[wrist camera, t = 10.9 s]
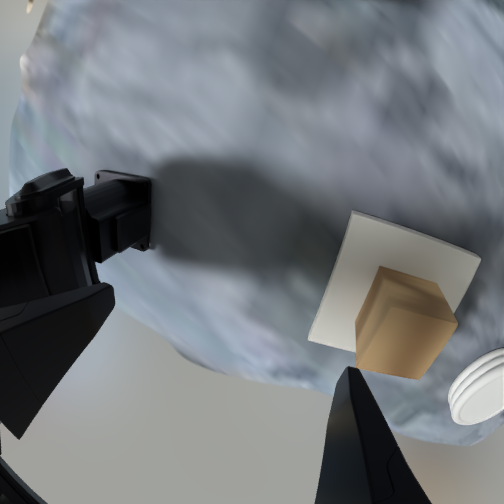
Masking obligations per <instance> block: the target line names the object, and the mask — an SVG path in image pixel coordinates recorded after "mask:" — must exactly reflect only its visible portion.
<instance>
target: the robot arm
mask: <svg viewBox="0 0 504 504" xmlns="http://www.w3.org/2000/svg"><path fill="white" fill-rule="evenodd" d="M99 175H100V176H99ZM144 183H146V187H145V185H144ZM83 185H84V178H83V177H75V176H73V175H71V173H70V172H69V170H68V169H67V168H63V169H59V170H56V171H52V172H49V173H46V174H43V175H41V176H39V177H36V178H34V179H32V180H30V181H29V182H27V183H25V184H24V186H23V187H22V189H21V190H20V191H19V192H17V193H16V194H14V195H13V196H12V197H11V198H9V199H8V200H7V201H6V202H5V205H6V208H5V209H2V210H0V424H1V422H2V423H3V424H4V425H5V427H6V428H7V429H8V430H9V431H10V432H11V433H12V434H13V435H14V436H15V437H17V439H19V440H20V438H21V437H22V436H23V434H24V433H25V431H26V429H27V428H28V426H29V425H30V423H31V422H32V420H33V419H34V417H35V416H36V414H37V413H38V411H39V410H40V409H41V407H42V405H43V404H44V403H45V401H46V400H47V398H48V397H49V396H50V394H51V393H52V391H53V390H54V389H55V387H56V386H57V385H58V383H59V382H60V380H61V379H62V378H63V377H64V375H65V374H66V372H67V371H68V370H69V368H70V367H71V366H72V365H73V363H74V362H75V361H76V359H77V358H78V357H79V356H80V354H81V353H82V352H83V350H84V349H85V348H86V347H87V345H88V344H89V343H90V342H91V340H92V339H93V338H94V337H95V335H96V334H97V332H98V331H99V329H100V328H101V326H102V325H103V323H104V322H105V320H106V319H107V317H108V316H109V314H110V313H111V311H112V310H113V308H114V306H115V296H114V288H113V286H112V285H110V284H108V283H105V282H103V283H101V282H100V281H99V278H98V274H97V269H96V265H95V262H98V263H102V262H104V261H105V260H107V259H108V258H110V257H112V256H113V255H115V254H116V253H121V252H123V251H124V250H126V249H127V248H129V247H131V248H134V249H137V250H140V251H146V250H148V249H149V236H150V218H151V206H150V204H151V186H152V185H151V181H150V180H149V179H147V178H142V177H137V176H131V175H126V174H120V173H114V172H109V171H103V170H100V171H97V172H96V173H95V185H93V186H90V187H87V188H84V189H83ZM143 244H144V246H145V247H144V246H143ZM0 455H1V440H0ZM0 504H47V503H46V502H45V501H44V500H43V499H42V498H41V497H39V496H38V495H37V494H36V493H35V492H34V491H33V490H32V489H31V488H30V487H29V486H28V485H27V484H26V483H25V482H24V481H23V480H22V479H21V478H20V477H19V476H18V475H17V474H16V473H15V472H14V471H13V470H12V469H11V468H10V467H9V466H8V464H7V463H6V462H5V461H4V460H3V459H2V458H1V456H0ZM315 504H432V503H431V502H430V500H429V499H428V497H427V495H426V494H425V492H424V490H423V489H422V487H421V486H420V484H419V482H418V481H417V479H416V478H415V476H414V474H413V473H412V471H411V469H410V467H409V466H408V464H407V462H406V460H405V458H404V456H403V454H402V452H401V450H400V448H399V446H398V444H397V442H396V440H395V438H394V436H393V434H392V432H391V430H390V428H389V426H388V424H387V422H386V420H385V418H384V416H383V414H382V412H381V410H380V408H379V406H378V404H377V402H376V400H375V398H374V396H373V395H372V393H371V391H370V389H369V387H368V385H367V383H366V381H365V379H364V377H363V376H362V374H361V372H360V370H359V369H358V368H354V367H350V366H348V367H346V368H345V370H344V372H343V373H342V375H341V377H340V378H339V380H338V382H337V384H336V388H335V393H334V397H333V402H332V406H331V411H330V415H329V419H328V424H327V431H326V439H325V446H324V453H323V460H322V466H321V472H320V478H319V483H318V489H317V494H316V499H315Z"/></svg>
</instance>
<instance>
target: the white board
mask: <svg viewBox="0 0 504 504" xmlns="http://www.w3.org/2000/svg"><path fill="white" fill-rule="evenodd" d="M480 262H481V258H480V257H479V256H478V255H477V254H475V253H473V252H470V251H468V250H465V249H463V248H461V247H458V246H455V245H453V244H450V243H448V242H445V241H443V240H440V239H437V238H435V237H432V236H429V235H426V234H424V233H421V232H418V231H415V230H412V229H410V228H407V227H404V226H401V225H398V224H395V223H392V222H389V221H386V220H383V219H380V218H377V217H374V216H371V215H367V214H364V213H361V212H358V211H354V210H352V212H351V215H350V219H349V222H348V225H347V229H346V232H345V235H344V238H343V241H342V244H341V247H340V250H339V253H338V256H337V259H336V262H335V265H334V268H333V271H332V274H331V276H330V279H329V282H328V285H327V288H326V290H325V293H324V296H323V298H322V301H321V304H320V306H319V309H318V311H317V314H316V316H315V319H314V322H313V324H312V327H311V329H310V331H309V336H308V340H309V341H313V342H317V343H320V344H324V345H328V346H332V347H336V348H340V349H344V350H348V351H352V352H356V337H355V320H356V318H357V316H358V314H359V312H360V309H361V307H362V305H363V303H364V301H365V299H366V296H367V294H368V292H369V290H370V287H371V285H372V283H373V280H374V278H375V276H376V273H377V271H378V268H379V266H383V267H386V268H389V269H393V270H396V271H399V272H402V273H406V274H409V275H412V276H415V277H419V278H422V279H425V280H428V281H431V282H434V283H437V284H438V286H439V288H440V290H441V291H442V293H443V295H444V297H445V299H446V301H447V302H448V304H449V306H450V308H451V310H452V312H453V314H454V312H455V311H456V309H457V307H458V305H459V304H460V302H461V300H462V298H463V296H464V294H465V293H466V291H467V289H468V287H469V285H470V283H471V281H472V279H473V277H474V275H475V273H476V270H477V268H478V266H479V264H480Z"/></svg>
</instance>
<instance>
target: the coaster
mask: <svg viewBox="0 0 504 504" xmlns="http://www.w3.org/2000/svg"><path fill="white" fill-rule="evenodd" d="M448 402H449V404H450V410H451V412H452V413H451V415H452V418H453V420H454V421H455V422H456V423H457V424H460V425H473V424H477V423H480V422H483V421H485V420H487V419H489V418H491V417H493V416H495V415H496V414H498V413H499V412H501V411H502V410H503V409H504V348H500V349H496V350H493V351H491V352H489V353H487V354H485V355H483V356H481V357H480V358H478V359H477V360H475V361H474V362H472V363H471V364H470V365H469V366H467V367H466V368H465V369H464V370H463V371H462V372H461V373H460V374H459V376H458V377H457V378H456V379H455V381H454V382H453V384H452V385H451V388H450V390H449V393H448Z"/></svg>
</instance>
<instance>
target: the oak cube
mask: <svg viewBox="0 0 504 504" xmlns="http://www.w3.org/2000/svg"><path fill="white" fill-rule="evenodd" d="M457 326H458V322H457V320H456V318H455V316H454V314H453V312H452V310H451V308H450V306H449V304H448V302H447V301H446V299H445V297H444V295H443V293H442V291H441V290H440V288H439V286H438V284H437V283H434V282H431V281H428V280H425V279H422V278H419V277H415V276H412V275H409V274H406V273H402V272H399V271H396V270H393V269H389V268H386V267H383V266H379V268H378V271H377V273H376V276H375V278H374V280H373V283H372V285H371V287H370V290H369V292H368V294H367V296H366V299H365V301H364V303H363V305H362V307H361V309H360V312H359V314H358V316H357V318H356V320H355V337H356V368H359V369H364V370H368V371H373V372H378V373H383V374H388V375H393V376H399V377H404V378H410V379H416V380H419V379H420V378H421V377H422V376H423V374H424V373H425V372H426V371H427V369H428V368H429V367H430V365H431V364H432V363H433V361H434V360H435V359H436V357H437V356H438V354H439V353H440V352H441V350H442V349H443V347H444V346H445V344H446V343H447V341H448V340H449V338H450V337H451V335H452V334H453V332H454V331H455V329H456V328H457Z"/></svg>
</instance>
